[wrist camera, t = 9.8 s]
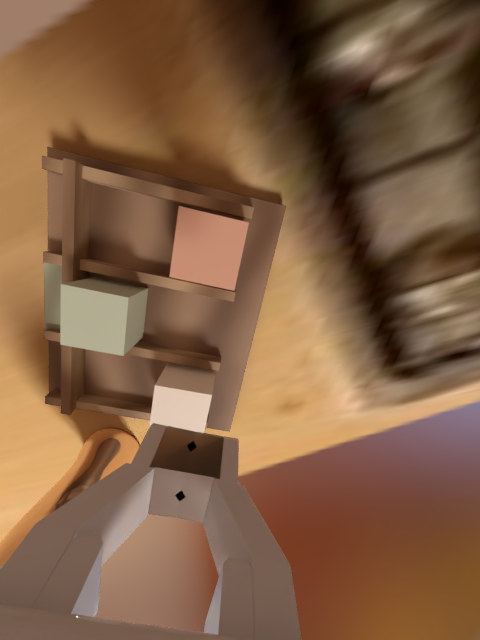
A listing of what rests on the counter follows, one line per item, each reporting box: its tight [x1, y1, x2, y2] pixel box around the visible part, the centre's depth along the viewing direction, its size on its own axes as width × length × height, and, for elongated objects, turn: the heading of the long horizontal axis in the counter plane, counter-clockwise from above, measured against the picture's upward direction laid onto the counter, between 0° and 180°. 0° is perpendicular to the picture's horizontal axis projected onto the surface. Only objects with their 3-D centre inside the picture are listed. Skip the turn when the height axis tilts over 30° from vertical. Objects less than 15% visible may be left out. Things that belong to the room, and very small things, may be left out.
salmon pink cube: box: [169, 206, 249, 291], centre depth 18 cm, size 4×4×4 cm
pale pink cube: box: [149, 362, 216, 433], centre depth 21 cm, size 4×4×4 cm
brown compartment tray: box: [42, 147, 286, 431], centre depth 21 cm, size 18×22×3 cm
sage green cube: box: [60, 277, 148, 356], centre depth 19 cm, size 4×4×4 cm
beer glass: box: [0, 428, 140, 570], centre depth 20 cm, size 7×7×15 cm
